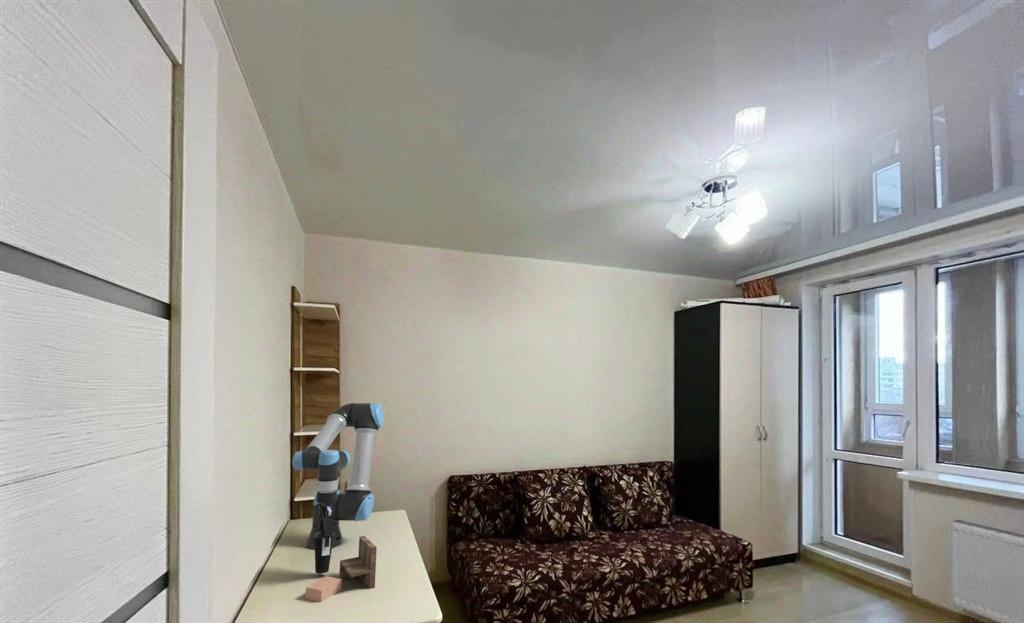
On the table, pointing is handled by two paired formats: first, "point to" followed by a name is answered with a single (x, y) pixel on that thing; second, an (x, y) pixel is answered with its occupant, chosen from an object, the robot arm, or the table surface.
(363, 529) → the table surface
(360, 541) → the desk shelf
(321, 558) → the drinking cup
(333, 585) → the pink rectangular block
